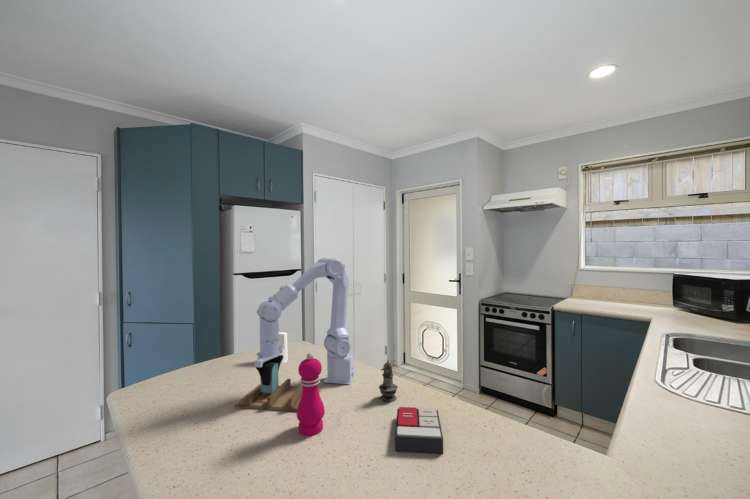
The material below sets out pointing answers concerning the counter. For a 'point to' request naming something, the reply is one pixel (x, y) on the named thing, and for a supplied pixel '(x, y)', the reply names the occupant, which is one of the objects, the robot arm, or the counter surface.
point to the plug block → (273, 383)
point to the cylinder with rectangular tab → (283, 343)
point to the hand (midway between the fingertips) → (269, 382)
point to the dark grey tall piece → (388, 384)
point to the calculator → (418, 431)
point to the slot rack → (273, 398)
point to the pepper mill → (310, 397)
